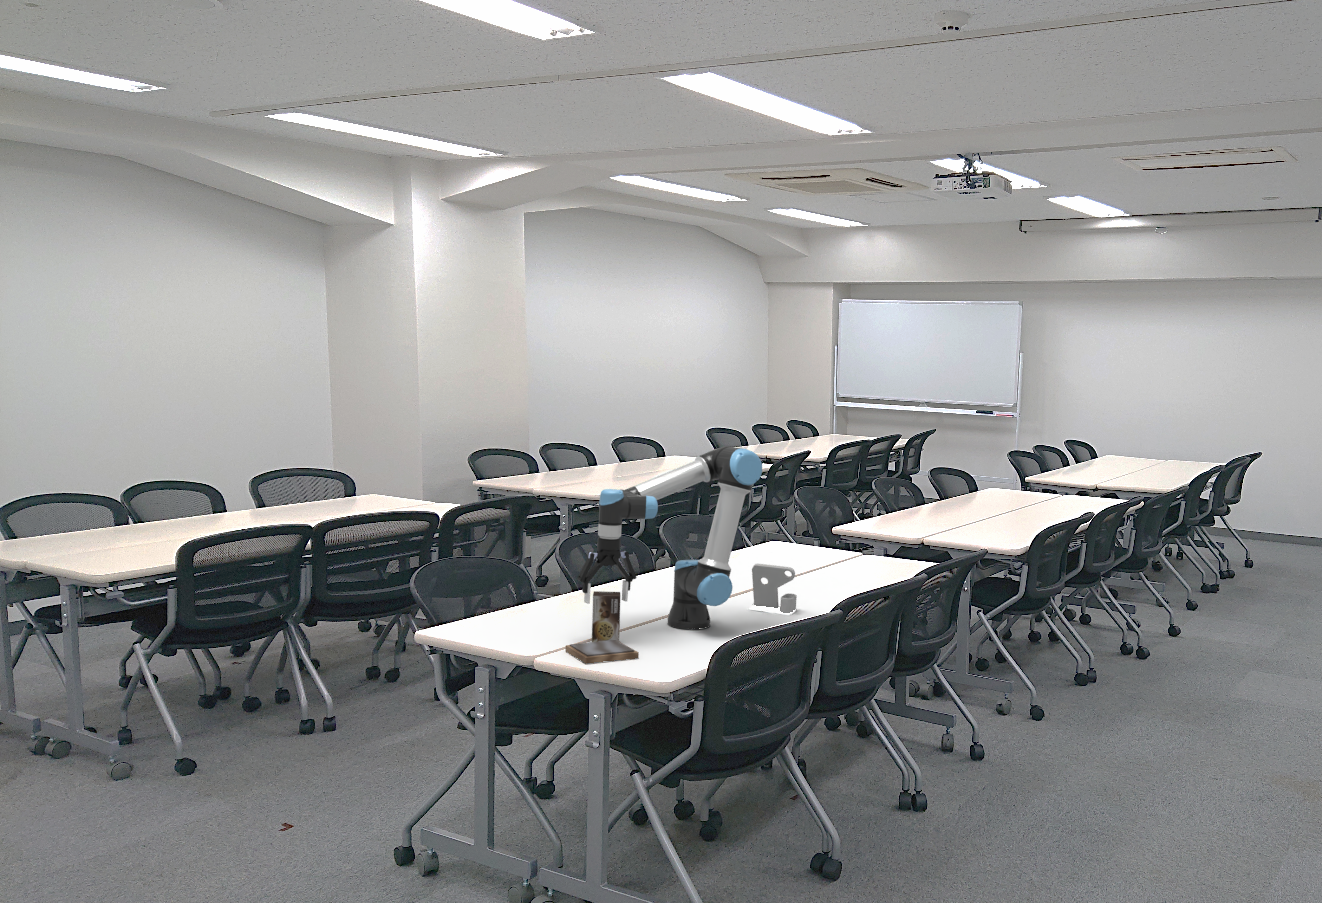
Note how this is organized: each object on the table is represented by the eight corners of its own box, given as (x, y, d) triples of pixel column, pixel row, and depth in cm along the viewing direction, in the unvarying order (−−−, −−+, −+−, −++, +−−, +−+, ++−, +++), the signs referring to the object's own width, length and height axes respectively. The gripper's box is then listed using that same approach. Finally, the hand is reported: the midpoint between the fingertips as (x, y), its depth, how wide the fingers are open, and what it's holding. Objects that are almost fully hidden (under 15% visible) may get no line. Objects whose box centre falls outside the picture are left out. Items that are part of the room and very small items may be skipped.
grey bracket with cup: (798, 610, 410) (800, 564, 409) (791, 616, 401) (793, 568, 400) (754, 605, 417) (756, 559, 415) (746, 610, 407) (748, 563, 406)
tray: (616, 646, 348) (617, 638, 348) (638, 658, 335) (638, 650, 334) (565, 651, 339) (565, 643, 339) (585, 664, 326) (585, 656, 326)
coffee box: (619, 639, 356) (621, 591, 355) (619, 644, 350) (621, 595, 349) (591, 638, 356) (593, 590, 355) (590, 644, 350) (592, 594, 348)
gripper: (638, 534, 359) (634, 597, 361) (569, 536, 347) (566, 601, 349) (648, 538, 353) (645, 602, 354) (579, 540, 341) (575, 606, 342)
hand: (605, 601), depth 352 cm, fingers open, 13 cm apart
